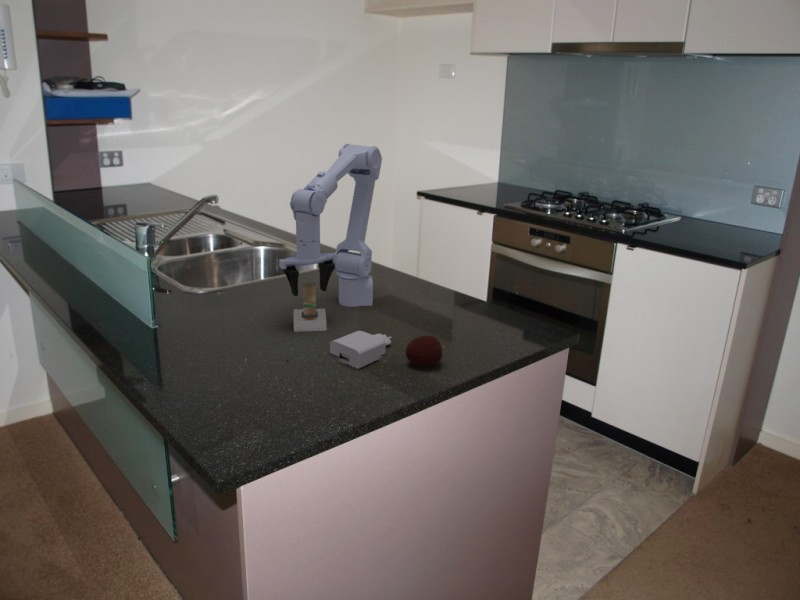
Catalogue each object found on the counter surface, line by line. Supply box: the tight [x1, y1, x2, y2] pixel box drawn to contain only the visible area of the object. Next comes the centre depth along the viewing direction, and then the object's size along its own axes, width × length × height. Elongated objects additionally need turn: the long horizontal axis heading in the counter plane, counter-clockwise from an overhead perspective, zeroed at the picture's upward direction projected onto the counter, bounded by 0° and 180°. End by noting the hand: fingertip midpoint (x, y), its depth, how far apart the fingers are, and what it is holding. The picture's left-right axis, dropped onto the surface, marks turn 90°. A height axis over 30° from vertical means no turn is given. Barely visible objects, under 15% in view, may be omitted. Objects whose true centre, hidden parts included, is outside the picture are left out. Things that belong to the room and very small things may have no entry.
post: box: [302, 282, 317, 315], centre depth 159 cm, size 3×3×7 cm
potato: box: [405, 335, 443, 368], centre depth 144 cm, size 7×8×7 cm
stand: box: [293, 308, 327, 333], centre depth 162 cm, size 12×12×4 cm
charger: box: [329, 330, 392, 370], centre depth 149 cm, size 5×9×15 cm
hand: (309, 292), depth 159 cm, fingers open, 7 cm apart
